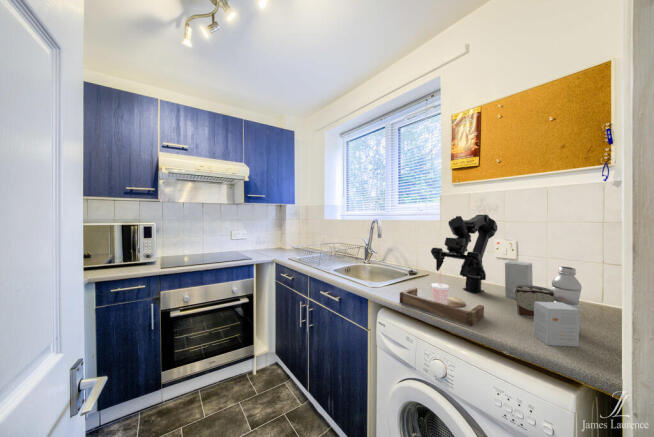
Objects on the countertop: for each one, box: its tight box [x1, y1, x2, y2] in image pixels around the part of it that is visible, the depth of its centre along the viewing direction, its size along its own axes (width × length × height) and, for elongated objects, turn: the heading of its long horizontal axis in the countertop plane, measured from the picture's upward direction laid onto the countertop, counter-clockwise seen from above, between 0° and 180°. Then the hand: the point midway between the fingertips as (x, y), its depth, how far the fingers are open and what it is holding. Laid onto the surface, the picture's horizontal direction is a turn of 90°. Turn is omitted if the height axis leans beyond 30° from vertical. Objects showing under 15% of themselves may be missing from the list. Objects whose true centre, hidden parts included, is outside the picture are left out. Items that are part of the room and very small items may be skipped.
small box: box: [533, 302, 580, 348], centre depth 69 cm, size 8×6×10 cm
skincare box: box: [504, 260, 534, 300], centre depth 104 cm, size 8×7×16 cm
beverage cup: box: [431, 271, 450, 305], centre depth 92 cm, size 6×6×14 cm
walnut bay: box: [399, 286, 485, 327], centre depth 92 cm, size 11×27×4 cm, turn 39°
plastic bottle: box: [551, 266, 583, 333], centre depth 74 cm, size 6×7×20 cm
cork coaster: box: [447, 296, 466, 308], centre depth 99 cm, size 10×10×1 cm
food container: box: [513, 284, 554, 318], centre depth 88 cm, size 12×6×10 cm, turn 71°
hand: (448, 272), depth 96 cm, fingers open, 9 cm apart
